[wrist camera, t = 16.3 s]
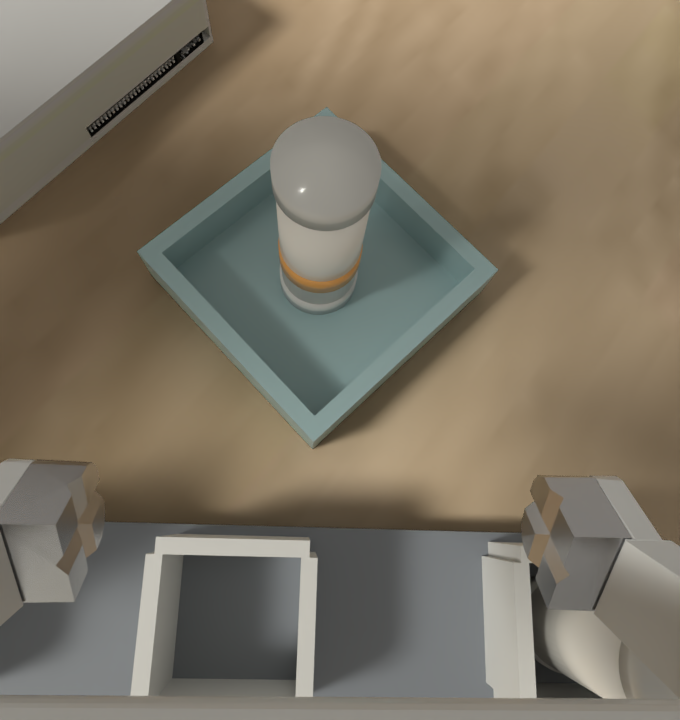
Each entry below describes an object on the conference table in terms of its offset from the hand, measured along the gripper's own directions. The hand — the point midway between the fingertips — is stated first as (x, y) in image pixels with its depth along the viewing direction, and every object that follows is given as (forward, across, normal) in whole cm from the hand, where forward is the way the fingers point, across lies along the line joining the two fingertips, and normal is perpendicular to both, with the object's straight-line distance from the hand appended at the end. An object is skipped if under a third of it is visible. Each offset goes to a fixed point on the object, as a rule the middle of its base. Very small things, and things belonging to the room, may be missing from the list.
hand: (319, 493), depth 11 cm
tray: (+20, 0, +4) cm, 20 cm away
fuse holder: (+9, +3, +15) cm, 18 cm away
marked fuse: (+19, 0, +4) cm, 20 cm away
